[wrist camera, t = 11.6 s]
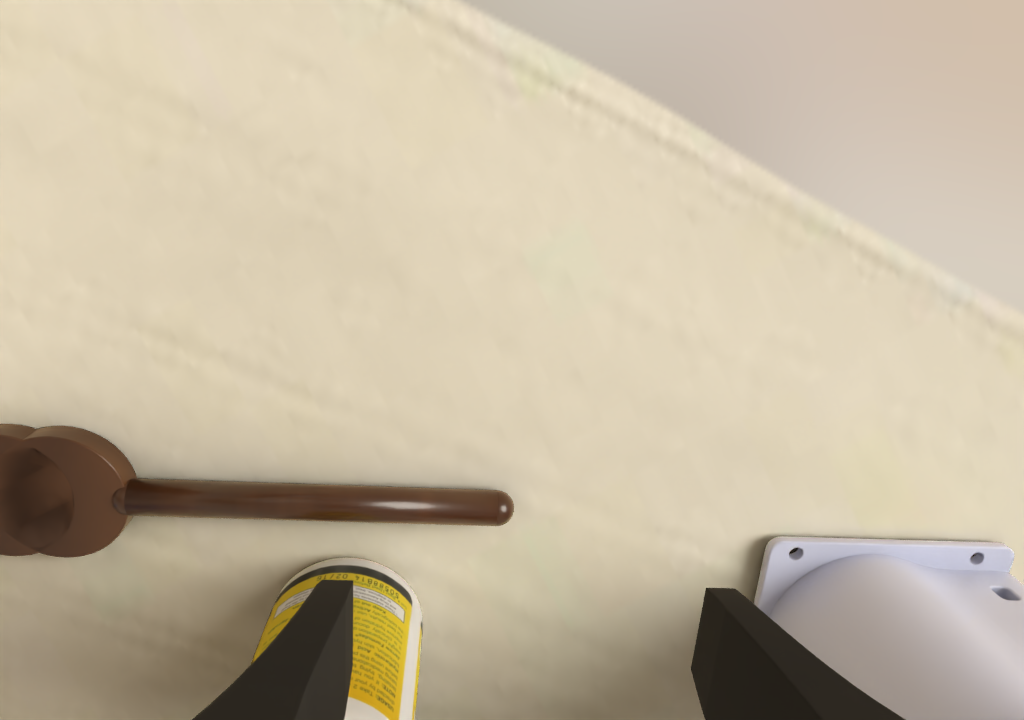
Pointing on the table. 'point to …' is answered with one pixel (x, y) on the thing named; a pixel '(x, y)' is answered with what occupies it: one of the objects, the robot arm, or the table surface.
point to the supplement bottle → (366, 634)
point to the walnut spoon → (182, 496)
